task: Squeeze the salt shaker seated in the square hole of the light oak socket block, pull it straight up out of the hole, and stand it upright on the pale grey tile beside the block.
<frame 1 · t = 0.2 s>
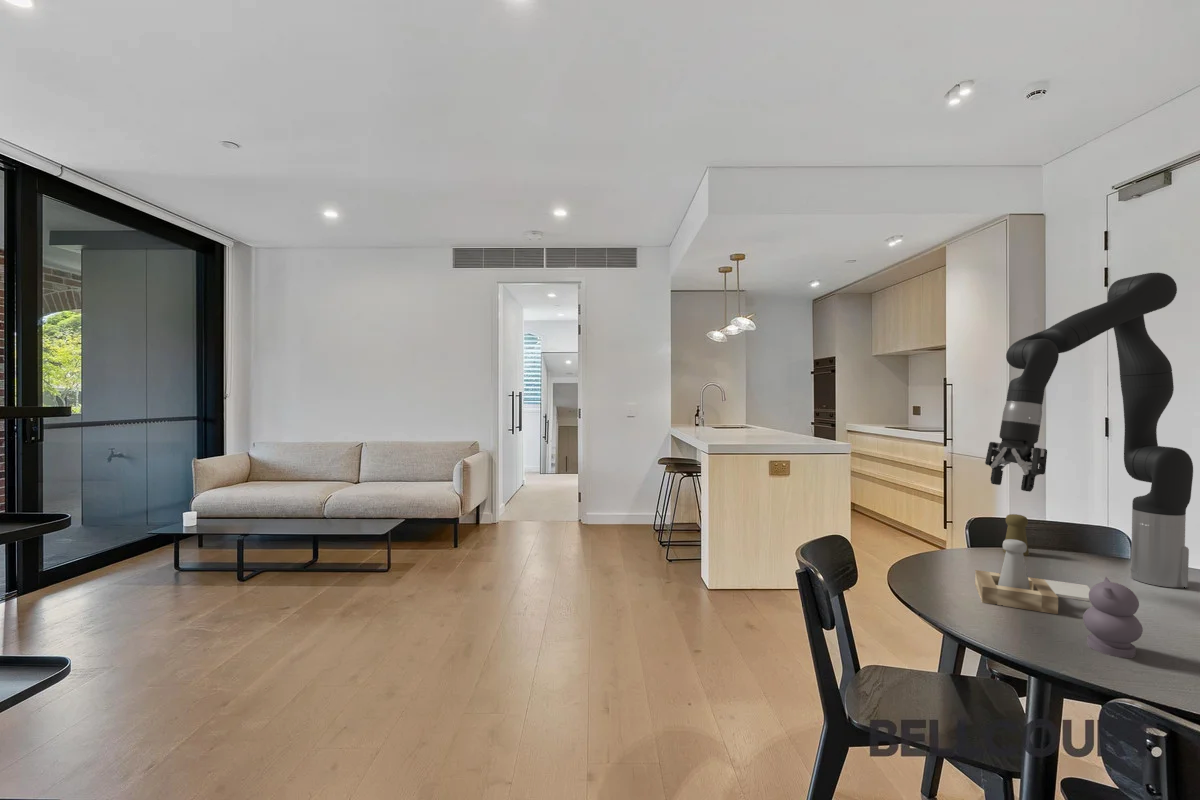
hand: (1010, 487, 134), 23 cm above the table, tool pointing down, fingers open, 8 cm apart
cork: (1015, 553, 160), on the table
socket block: (1013, 598, 124), on the table
grey tile: (1062, 590, 129), on the table
salt shaker: (1013, 599, 124), resting in socket block
stacked rounded figure: (1111, 650, 99), on the table
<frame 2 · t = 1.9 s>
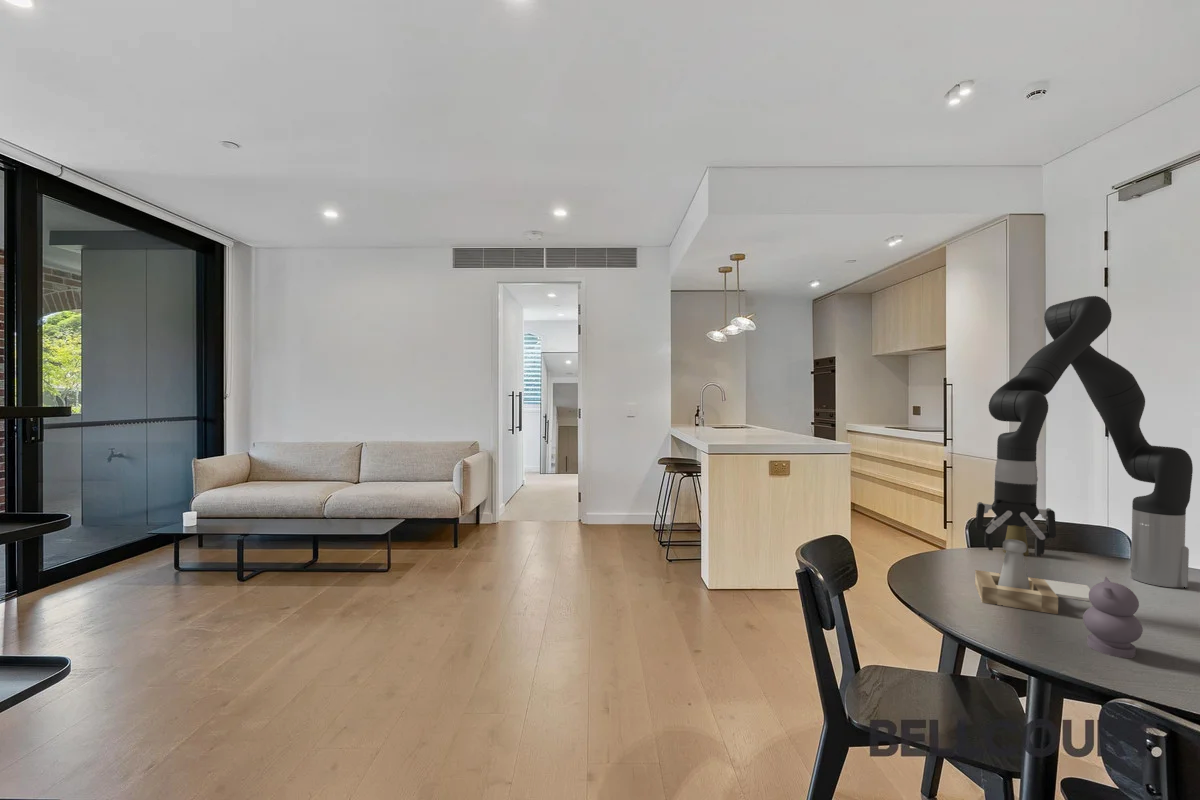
hand: (1013, 552, 124), 10 cm above the table, tool pointing down, fingers open, 8 cm apart
nothing on the table moved.
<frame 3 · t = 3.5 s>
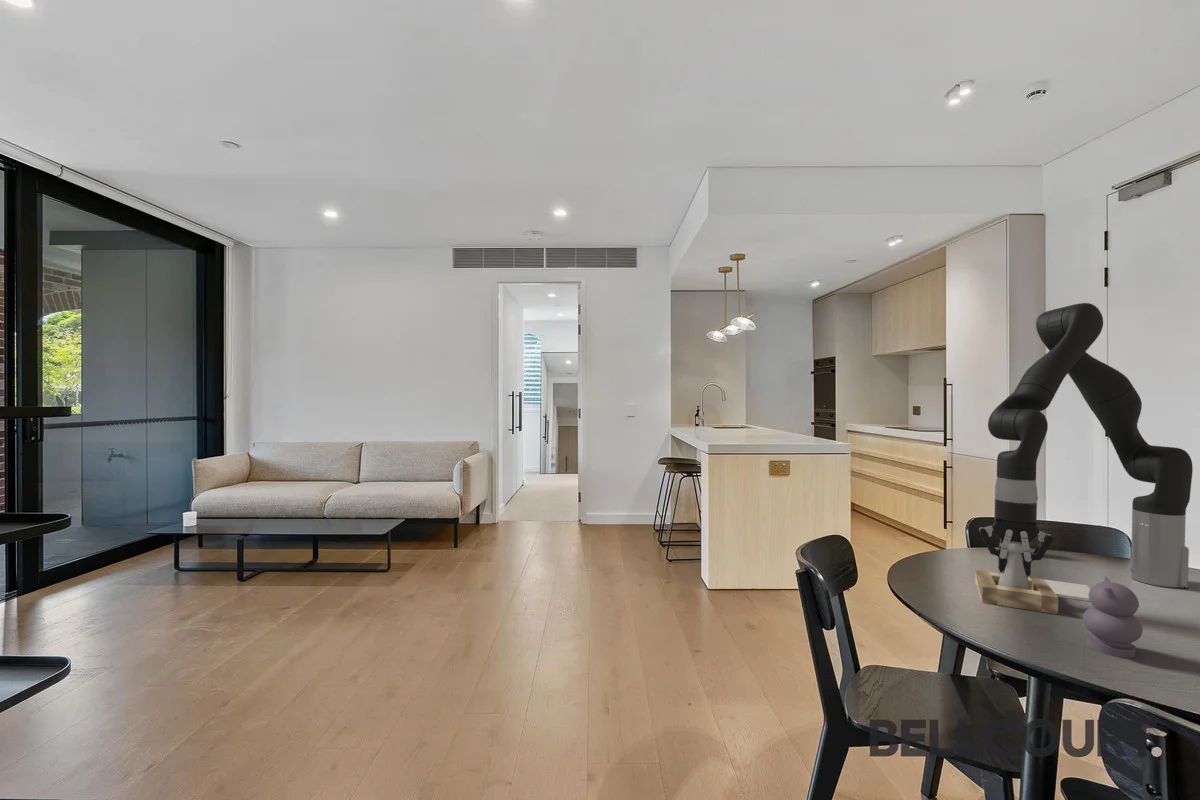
hand: (1013, 575, 124), 5 cm above the table, tool pointing down, fingers closed on salt shaker, 3 cm apart
salt shaker: (1013, 599, 124), resting in socket block, touching gripper
everything else where it was.
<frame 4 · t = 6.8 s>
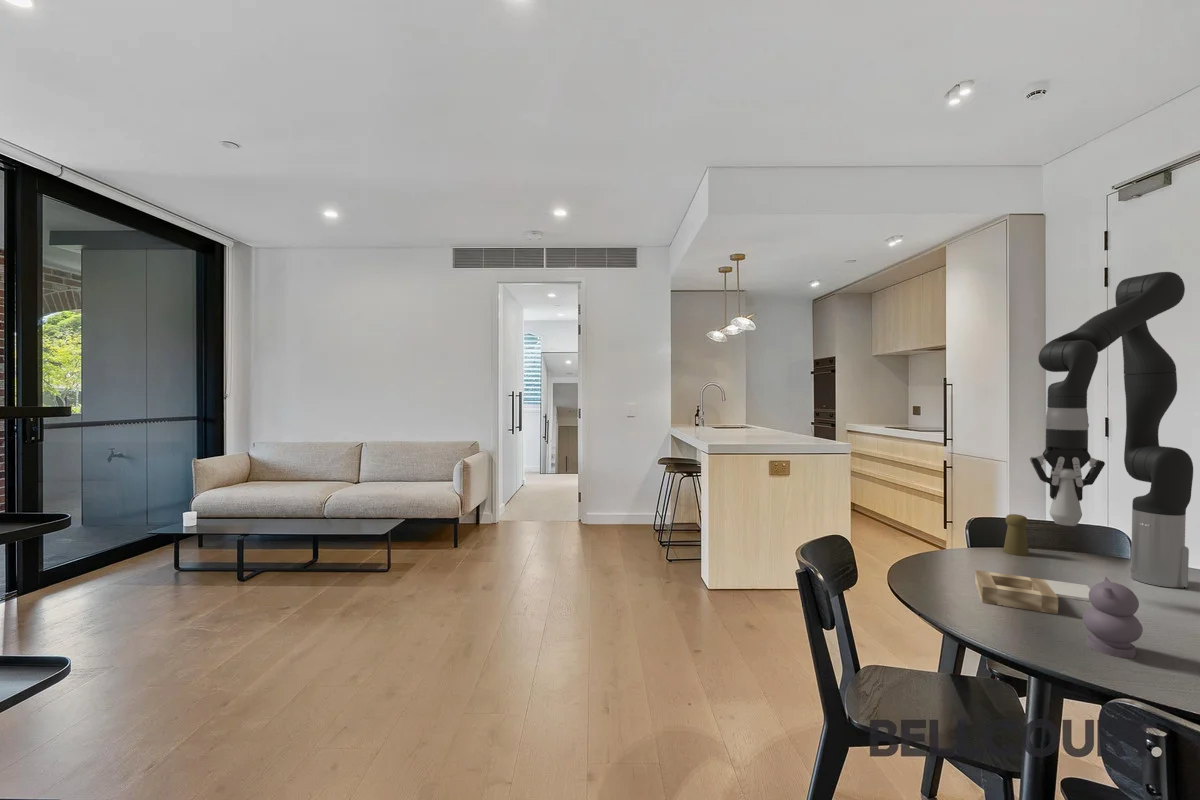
hand: (1065, 501, 129), 21 cm above the table, tool pointing down, fingers closed on salt shaker, 3 cm apart
salt shaker: (1065, 524, 129), point 15 cm above the table, touching gripper
everything else where it was.
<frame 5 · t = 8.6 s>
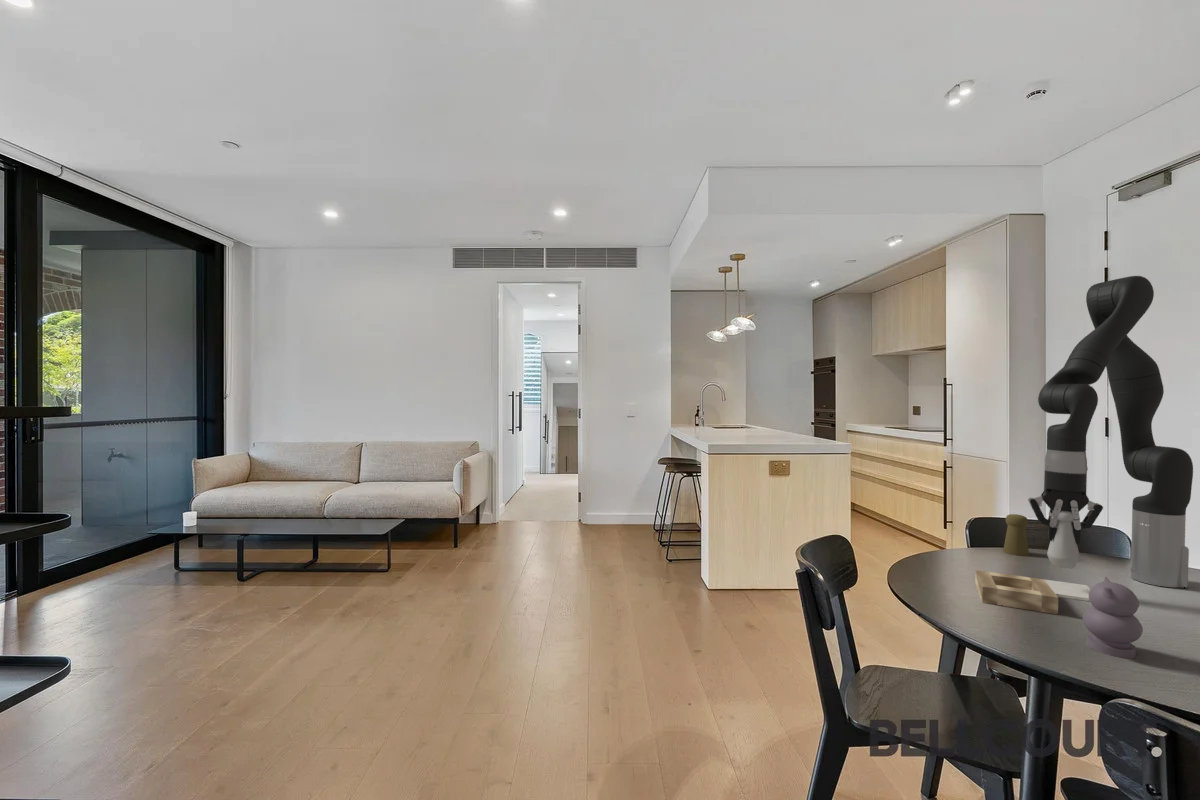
hand: (1063, 543, 129), 11 cm above the table, tool pointing down, fingers closed on salt shaker, 3 cm apart
salt shaker: (1062, 566, 129), point 6 cm above the table, touching gripper
everything else where it was.
when the fingers open (7 cm above the table, at t = 10.1 s): salt shaker drops 1 cm, resting on grey tile.
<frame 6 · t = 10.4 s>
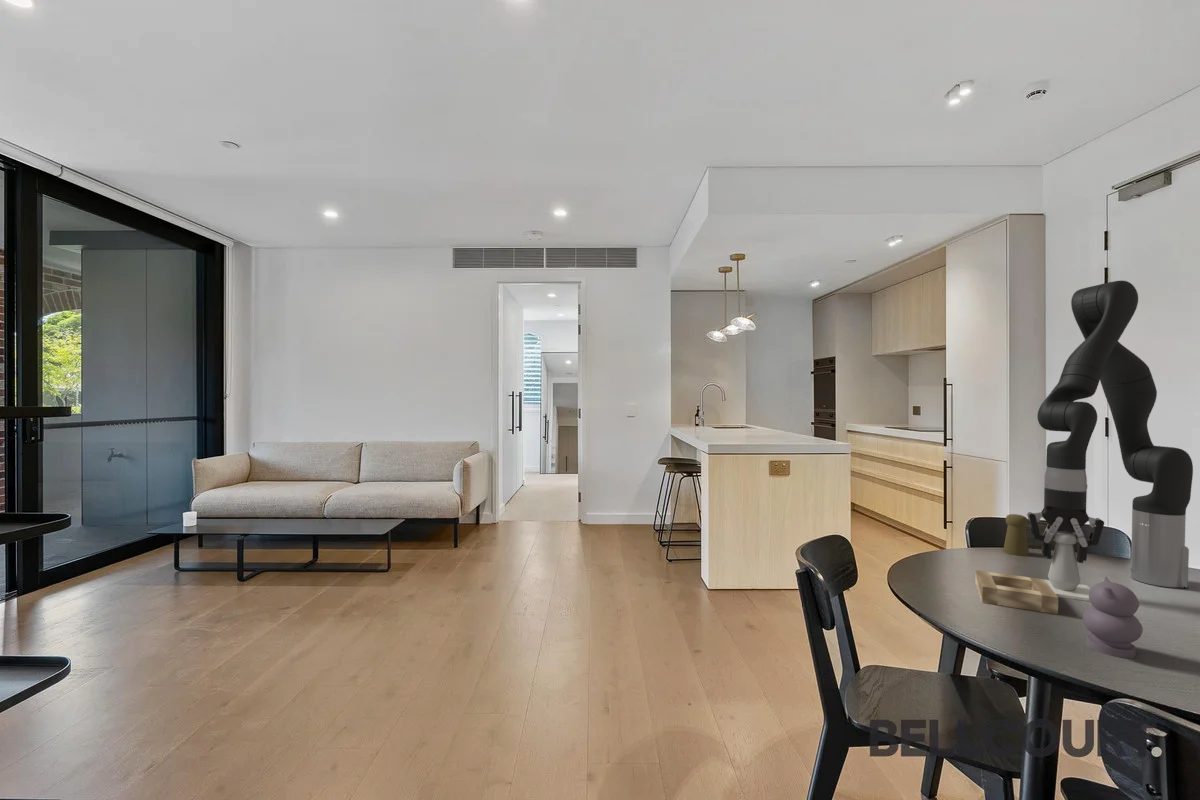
hand: (1063, 559, 129), 7 cm above the table, tool pointing down, fingers open, 5 cm apart
salt shaker: (1063, 588, 129), resting on grey tile
everything else where it was.
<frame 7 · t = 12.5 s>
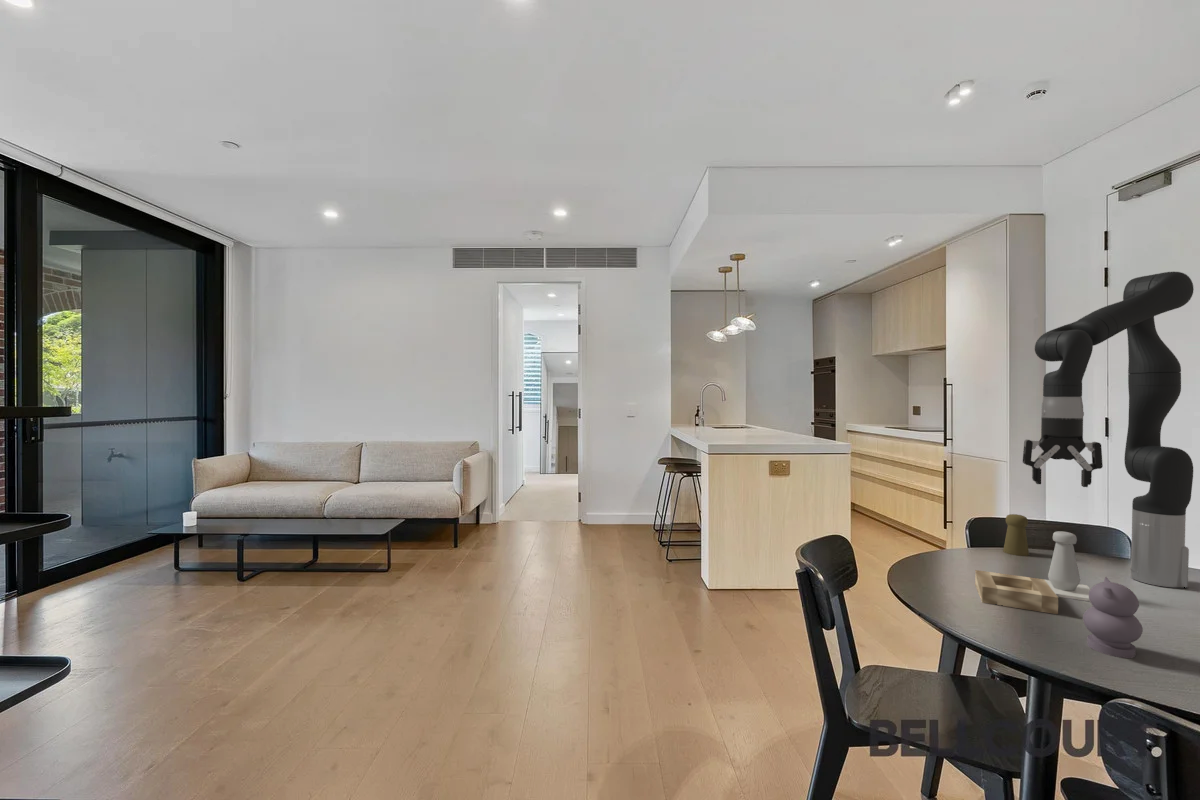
hand: (1060, 485, 130), 24 cm above the table, tool pointing down, fingers open, 8 cm apart
nothing on the table moved.
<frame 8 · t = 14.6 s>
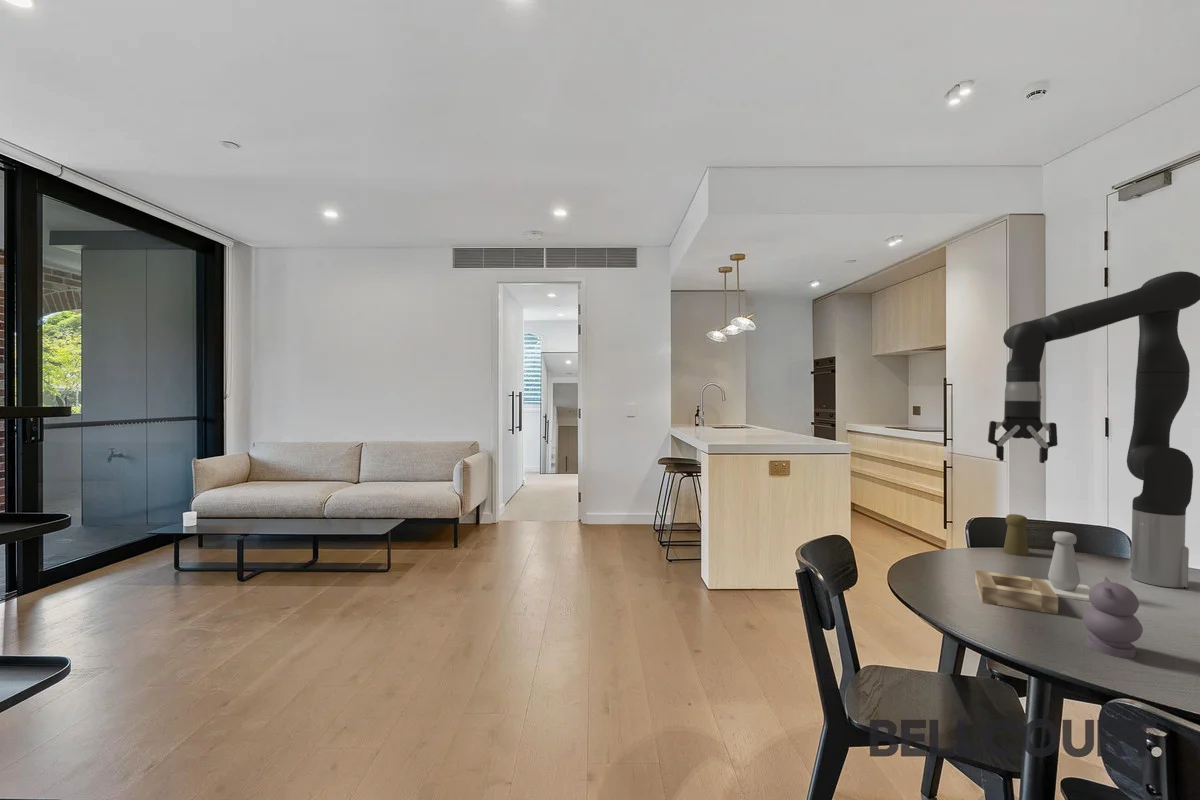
hand: (1021, 461, 145), 28 cm above the table, tool pointing down, fingers open, 8 cm apart
nothing on the table moved.
at the end: salt shaker inside the target area (0.1 cm from its centre), resting on grey tile; salt shaker tilted 0°; the gripper is holding nothing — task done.
